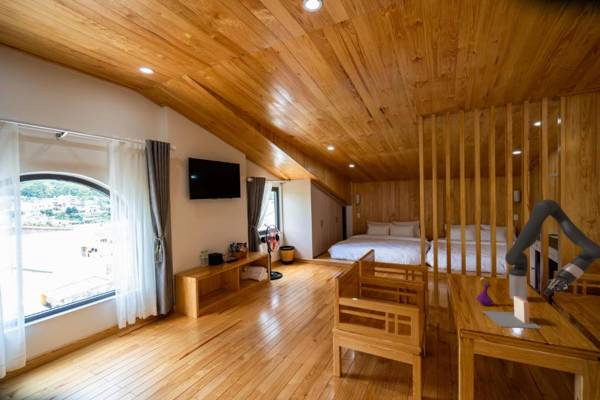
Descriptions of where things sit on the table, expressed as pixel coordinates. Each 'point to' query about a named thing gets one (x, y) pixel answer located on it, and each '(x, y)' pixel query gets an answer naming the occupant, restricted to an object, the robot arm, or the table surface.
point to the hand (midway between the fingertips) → (545, 294)
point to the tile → (521, 309)
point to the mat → (509, 320)
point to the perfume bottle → (485, 295)
